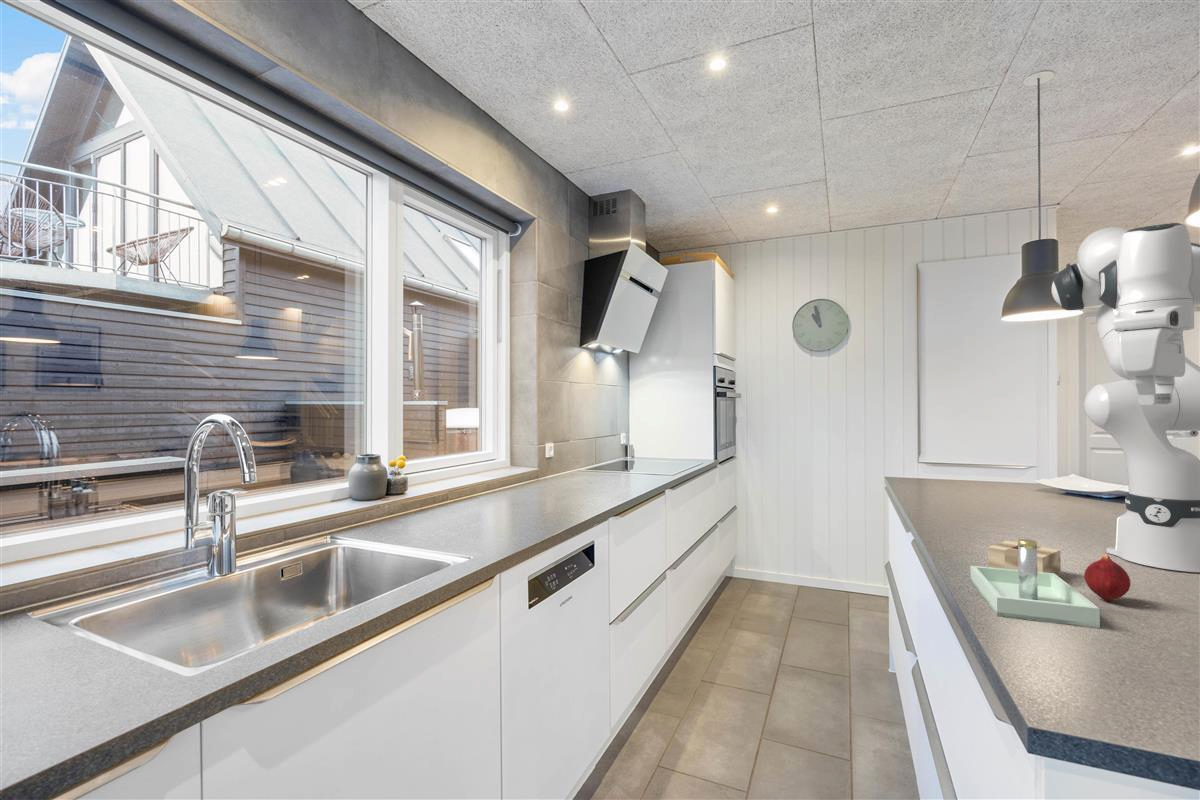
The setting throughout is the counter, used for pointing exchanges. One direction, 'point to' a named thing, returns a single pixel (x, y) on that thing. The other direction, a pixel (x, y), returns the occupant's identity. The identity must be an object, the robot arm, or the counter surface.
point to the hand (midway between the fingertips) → (1155, 404)
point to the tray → (1051, 606)
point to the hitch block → (1007, 557)
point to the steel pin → (1027, 569)
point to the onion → (1107, 579)
